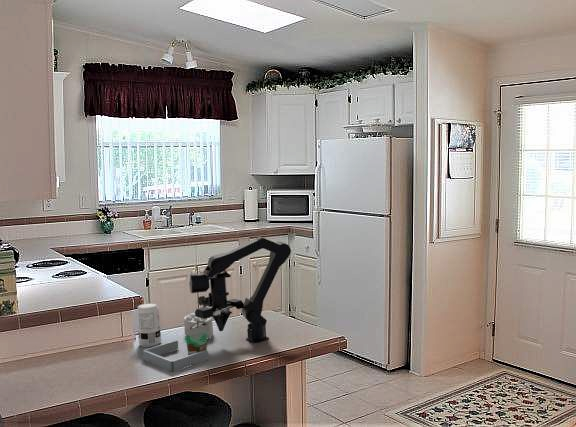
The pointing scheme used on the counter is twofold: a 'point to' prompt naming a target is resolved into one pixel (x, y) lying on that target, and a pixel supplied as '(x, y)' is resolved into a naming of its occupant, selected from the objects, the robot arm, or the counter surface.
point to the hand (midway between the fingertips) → (221, 331)
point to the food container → (197, 337)
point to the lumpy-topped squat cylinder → (192, 320)
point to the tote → (154, 358)
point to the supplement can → (148, 325)
